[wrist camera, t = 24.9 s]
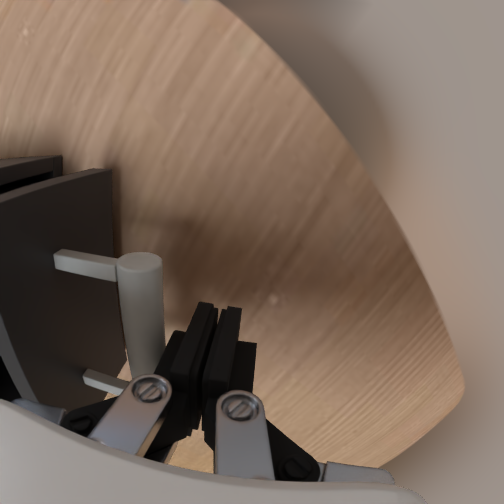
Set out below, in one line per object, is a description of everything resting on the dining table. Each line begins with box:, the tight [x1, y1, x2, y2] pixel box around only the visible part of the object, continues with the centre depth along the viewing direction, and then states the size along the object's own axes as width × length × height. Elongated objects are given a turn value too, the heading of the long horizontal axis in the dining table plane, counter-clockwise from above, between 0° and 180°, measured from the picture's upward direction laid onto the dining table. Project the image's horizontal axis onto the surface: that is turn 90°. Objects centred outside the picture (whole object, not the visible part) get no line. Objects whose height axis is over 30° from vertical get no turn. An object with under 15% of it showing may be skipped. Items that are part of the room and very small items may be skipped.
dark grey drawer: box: [0, 168, 166, 412], centre depth 11 cm, size 18×11×8 cm, turn 83°
